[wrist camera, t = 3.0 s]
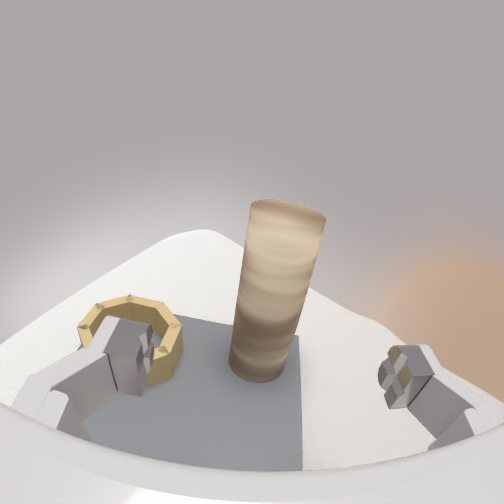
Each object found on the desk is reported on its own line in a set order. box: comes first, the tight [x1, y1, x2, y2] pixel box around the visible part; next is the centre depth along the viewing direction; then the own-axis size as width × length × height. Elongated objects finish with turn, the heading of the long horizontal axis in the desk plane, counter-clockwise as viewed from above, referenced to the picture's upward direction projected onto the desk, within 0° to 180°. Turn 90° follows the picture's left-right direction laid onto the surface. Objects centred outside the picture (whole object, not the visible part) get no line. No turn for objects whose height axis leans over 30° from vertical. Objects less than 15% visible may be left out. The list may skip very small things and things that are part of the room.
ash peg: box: [229, 199, 326, 383], centre depth 22 cm, size 5×5×14 cm
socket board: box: [77, 295, 302, 471], centre depth 21 cm, size 17×20×4 cm
